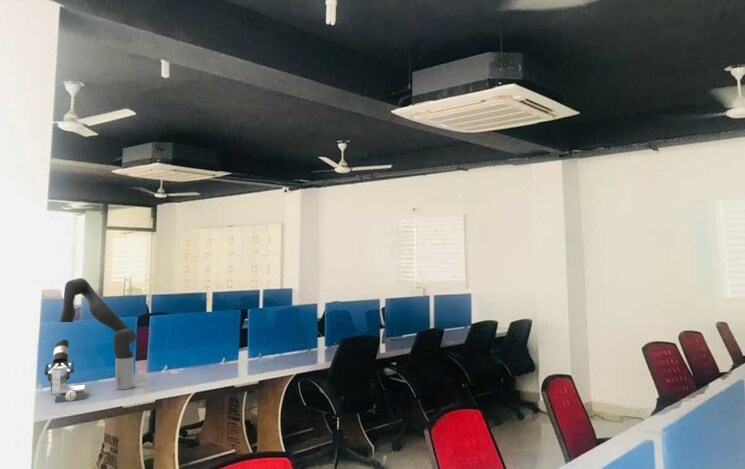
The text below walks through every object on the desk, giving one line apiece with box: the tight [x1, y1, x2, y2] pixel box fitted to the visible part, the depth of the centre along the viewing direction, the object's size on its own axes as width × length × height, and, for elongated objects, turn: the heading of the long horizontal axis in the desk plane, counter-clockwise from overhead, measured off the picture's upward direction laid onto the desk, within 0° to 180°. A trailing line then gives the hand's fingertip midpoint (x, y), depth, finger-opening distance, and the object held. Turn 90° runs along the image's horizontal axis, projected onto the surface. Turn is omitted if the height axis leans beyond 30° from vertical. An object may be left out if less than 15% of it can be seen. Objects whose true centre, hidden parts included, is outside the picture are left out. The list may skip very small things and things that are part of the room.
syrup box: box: [50, 366, 68, 395], centre depth 300 cm, size 6×6×14 cm
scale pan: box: [58, 384, 86, 393], centre depth 287 cm, size 12×12×1 cm
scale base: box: [54, 387, 88, 403], centre depth 287 cm, size 15×14×5 cm
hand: (58, 379), depth 299 cm, fingers open, 8 cm apart
